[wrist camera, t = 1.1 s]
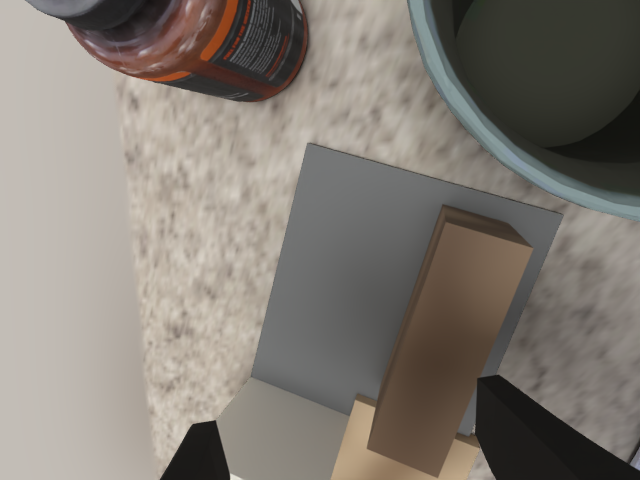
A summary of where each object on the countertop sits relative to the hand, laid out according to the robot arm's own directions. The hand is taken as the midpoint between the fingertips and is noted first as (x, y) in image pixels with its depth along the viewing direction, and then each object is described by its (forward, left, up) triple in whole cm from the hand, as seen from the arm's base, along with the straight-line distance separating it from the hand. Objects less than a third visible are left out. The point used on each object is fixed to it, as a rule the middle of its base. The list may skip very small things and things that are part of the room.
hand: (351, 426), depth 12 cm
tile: (+3, +8, -10) cm, 13 cm away
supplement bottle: (+10, -10, -11) cm, 18 cm away
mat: (0, +4, -11) cm, 11 cm away
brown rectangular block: (-2, 0, -10) cm, 10 cm away
